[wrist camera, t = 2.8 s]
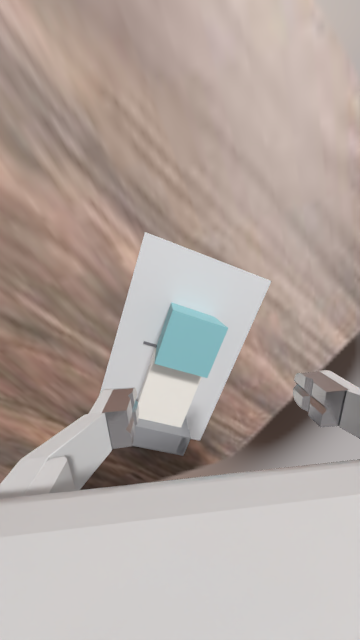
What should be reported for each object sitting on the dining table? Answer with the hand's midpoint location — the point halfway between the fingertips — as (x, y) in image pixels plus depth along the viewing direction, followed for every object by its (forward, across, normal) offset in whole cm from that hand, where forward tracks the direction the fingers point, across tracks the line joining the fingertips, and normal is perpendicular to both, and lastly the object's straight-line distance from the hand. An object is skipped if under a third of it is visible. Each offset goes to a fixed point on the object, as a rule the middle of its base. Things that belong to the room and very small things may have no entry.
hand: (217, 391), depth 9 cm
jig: (+12, +2, +3) cm, 12 cm away
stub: (+11, +1, 0) cm, 11 cm away
